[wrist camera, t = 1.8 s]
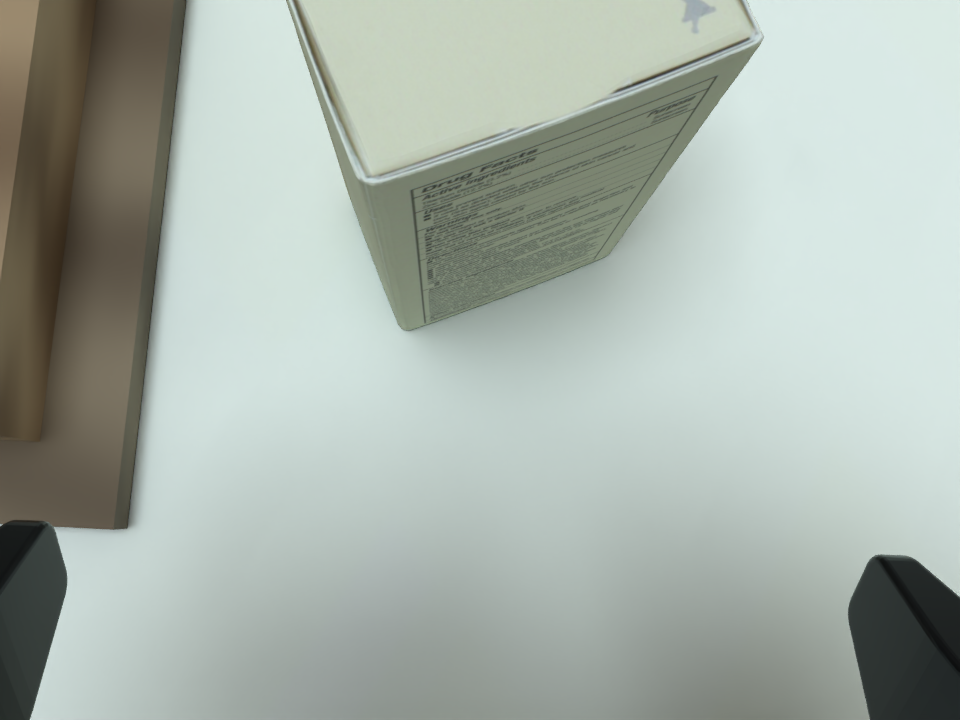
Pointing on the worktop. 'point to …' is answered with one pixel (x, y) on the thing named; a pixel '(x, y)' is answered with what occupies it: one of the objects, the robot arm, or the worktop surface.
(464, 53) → the skincare box
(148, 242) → the socket
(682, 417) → the worktop surface
